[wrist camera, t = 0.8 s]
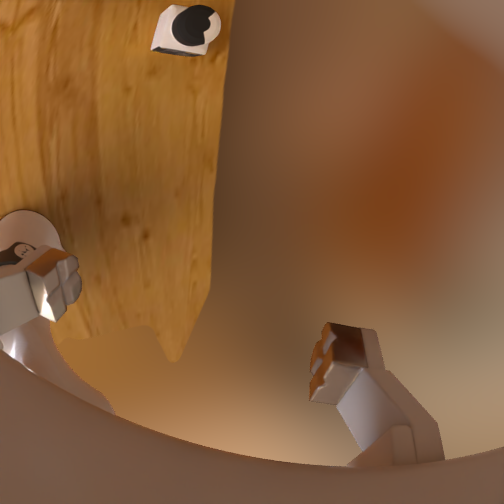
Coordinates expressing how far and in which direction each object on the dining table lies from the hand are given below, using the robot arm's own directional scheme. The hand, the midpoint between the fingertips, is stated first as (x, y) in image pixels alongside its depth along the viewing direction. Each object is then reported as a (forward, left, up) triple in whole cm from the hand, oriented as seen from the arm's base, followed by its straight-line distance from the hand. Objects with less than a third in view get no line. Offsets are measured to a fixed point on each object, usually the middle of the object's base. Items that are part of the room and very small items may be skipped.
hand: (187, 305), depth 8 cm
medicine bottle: (+18, -2, -43) cm, 47 cm away
